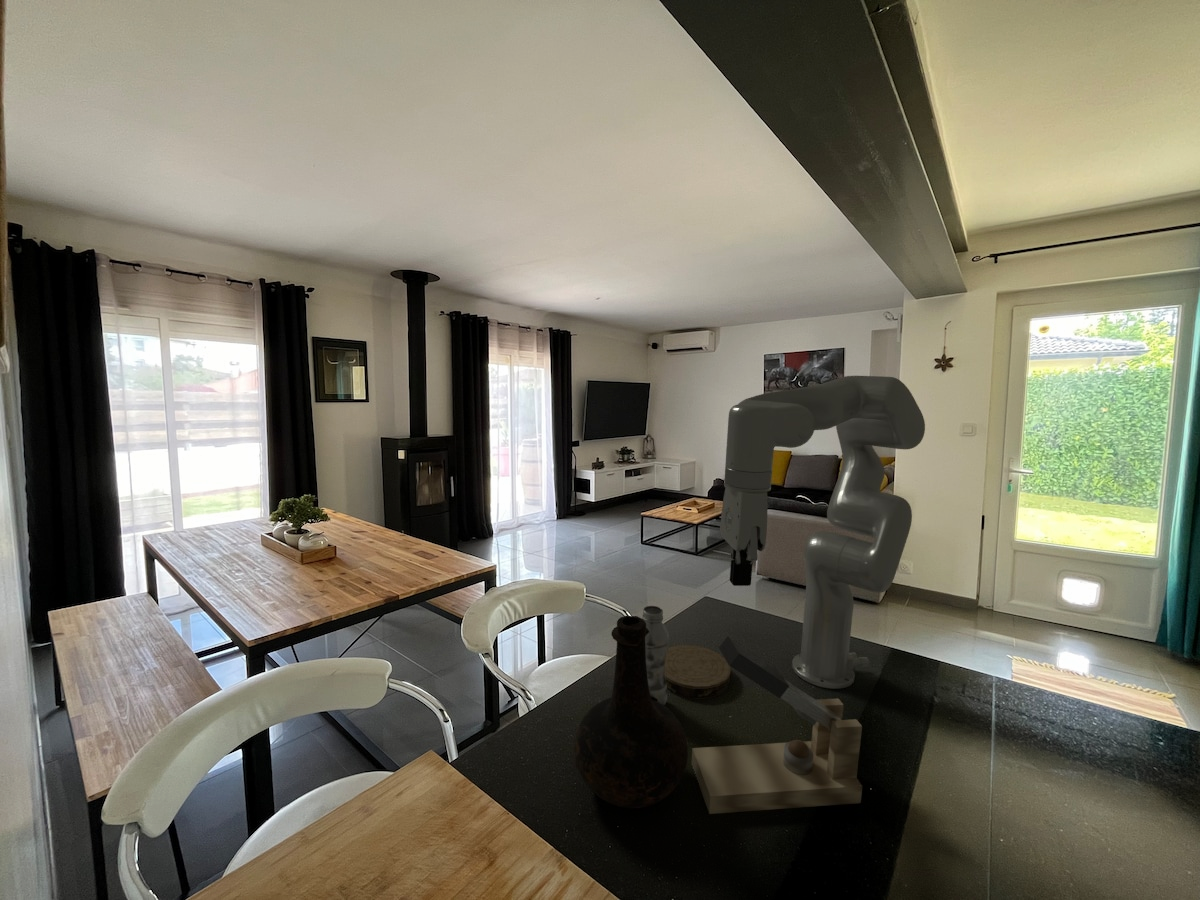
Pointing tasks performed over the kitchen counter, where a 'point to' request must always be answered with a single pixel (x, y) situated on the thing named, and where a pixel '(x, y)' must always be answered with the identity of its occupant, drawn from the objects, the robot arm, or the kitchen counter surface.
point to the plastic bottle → (656, 652)
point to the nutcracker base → (784, 770)
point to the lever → (775, 683)
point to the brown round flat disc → (696, 672)
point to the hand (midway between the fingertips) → (740, 583)
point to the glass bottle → (631, 732)
